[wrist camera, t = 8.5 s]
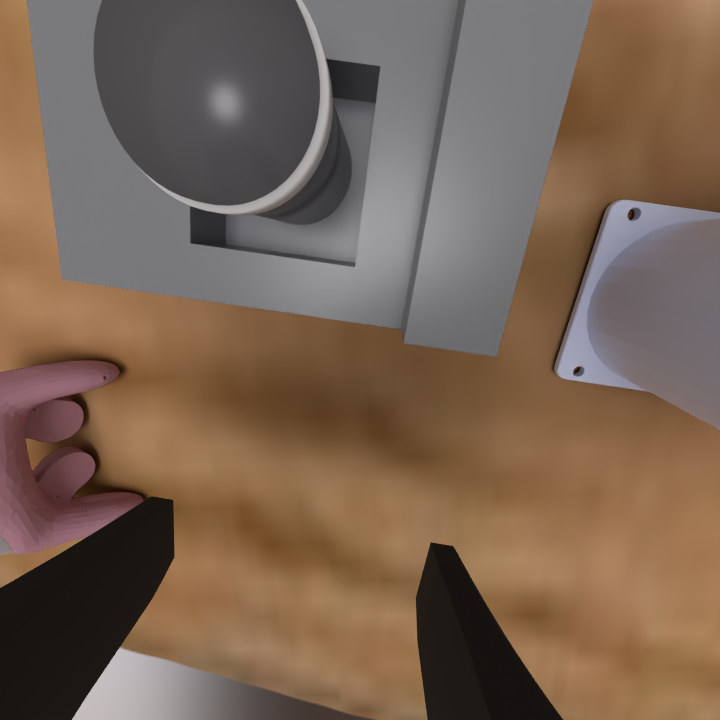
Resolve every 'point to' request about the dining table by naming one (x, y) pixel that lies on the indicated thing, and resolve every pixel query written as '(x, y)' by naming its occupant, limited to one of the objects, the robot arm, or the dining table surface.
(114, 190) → the camera body
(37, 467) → the pink rounded piece
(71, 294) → the dining table surface
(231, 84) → the lens
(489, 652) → the robot arm
